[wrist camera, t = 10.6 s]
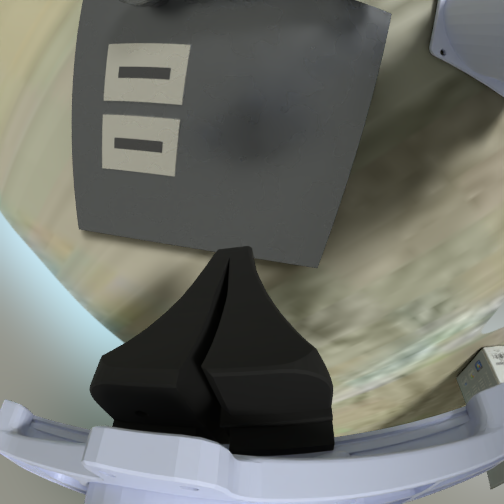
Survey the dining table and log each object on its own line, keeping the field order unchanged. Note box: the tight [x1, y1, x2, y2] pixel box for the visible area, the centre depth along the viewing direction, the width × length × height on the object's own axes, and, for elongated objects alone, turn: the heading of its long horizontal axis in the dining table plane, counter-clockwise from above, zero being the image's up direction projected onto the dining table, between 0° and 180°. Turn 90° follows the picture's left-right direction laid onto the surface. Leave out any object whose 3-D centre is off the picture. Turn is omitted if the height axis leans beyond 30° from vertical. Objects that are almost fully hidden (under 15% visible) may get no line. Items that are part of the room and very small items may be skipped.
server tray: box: [72, 0, 392, 268], centre depth 17 cm, size 18×18×4 cm
